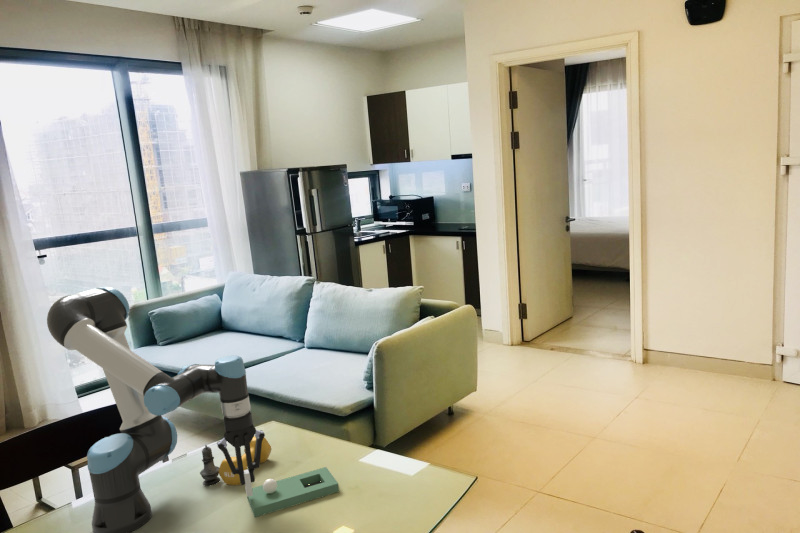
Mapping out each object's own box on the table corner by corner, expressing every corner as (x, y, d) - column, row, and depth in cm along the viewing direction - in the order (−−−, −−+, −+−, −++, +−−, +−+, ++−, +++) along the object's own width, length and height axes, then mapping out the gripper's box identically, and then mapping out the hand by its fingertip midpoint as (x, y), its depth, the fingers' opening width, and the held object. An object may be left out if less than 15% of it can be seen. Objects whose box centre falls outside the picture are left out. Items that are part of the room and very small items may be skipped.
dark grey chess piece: (202, 488, 186) (196, 450, 184) (200, 480, 191) (194, 443, 190) (222, 482, 188) (216, 445, 186) (220, 475, 194) (214, 438, 192)
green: (254, 517, 166) (253, 508, 166) (247, 497, 177) (245, 489, 177) (339, 491, 175) (338, 483, 175) (327, 474, 186) (326, 466, 186)
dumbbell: (243, 488, 184) (239, 462, 182) (217, 486, 187) (213, 460, 185) (275, 458, 201) (272, 435, 200) (251, 457, 204) (247, 434, 203)
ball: (265, 497, 171) (263, 484, 170) (262, 491, 175) (260, 478, 174) (279, 493, 173) (277, 480, 172) (276, 487, 176) (274, 474, 176)
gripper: (213, 423, 162) (227, 507, 165) (263, 411, 167) (275, 492, 170) (210, 414, 169) (223, 494, 172) (258, 403, 174) (270, 481, 177)
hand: (249, 493), depth 171 cm, fingers closed
